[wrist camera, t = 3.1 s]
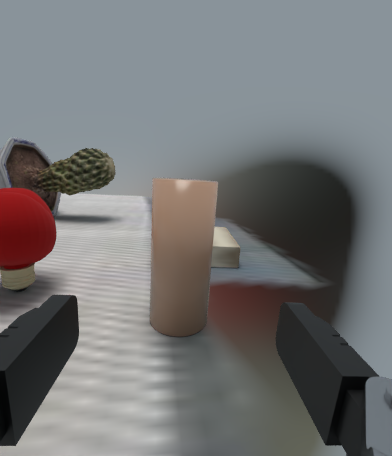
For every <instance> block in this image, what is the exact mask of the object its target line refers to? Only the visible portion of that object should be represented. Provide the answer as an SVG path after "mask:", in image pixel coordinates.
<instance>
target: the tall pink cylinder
mask: <svg viewBox="0 0 392 456" xmlns="http://www.w3.org/2000/svg"><path fill="white" fill-rule="evenodd" d="M217 189H218V182H215V181H205V180H193V179H176V178H153V191H152V238H151V286H150V323H151V325H152V327H153V328H154V329H155V330H157V331H158V332H160V333H162V334H165V335H168V336H174V337H184V336H190V335H193V334H195V333H198V332H199V331H201V330H202V329H203V328H204V327H205V325H206V322H207V311H208V299H209V287H210V274H211V262H212V250H213V238H214V226H215V213H216V201H217Z"/></svg>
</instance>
